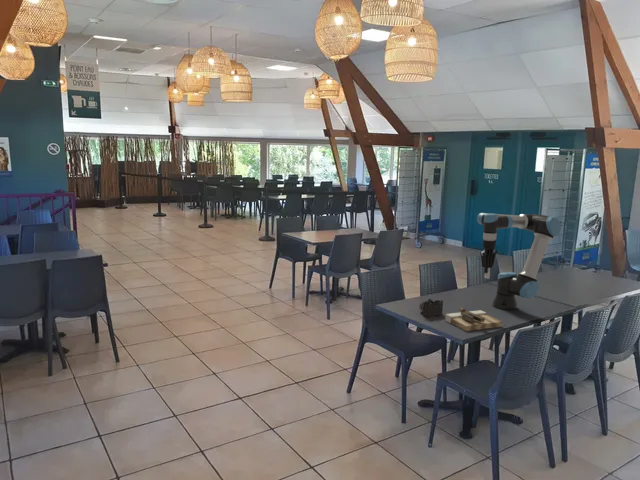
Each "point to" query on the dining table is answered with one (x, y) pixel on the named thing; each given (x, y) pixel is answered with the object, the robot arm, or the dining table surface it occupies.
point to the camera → (431, 307)
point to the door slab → (476, 323)
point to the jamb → (456, 315)
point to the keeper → (468, 318)
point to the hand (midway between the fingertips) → (486, 278)
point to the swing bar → (473, 315)
